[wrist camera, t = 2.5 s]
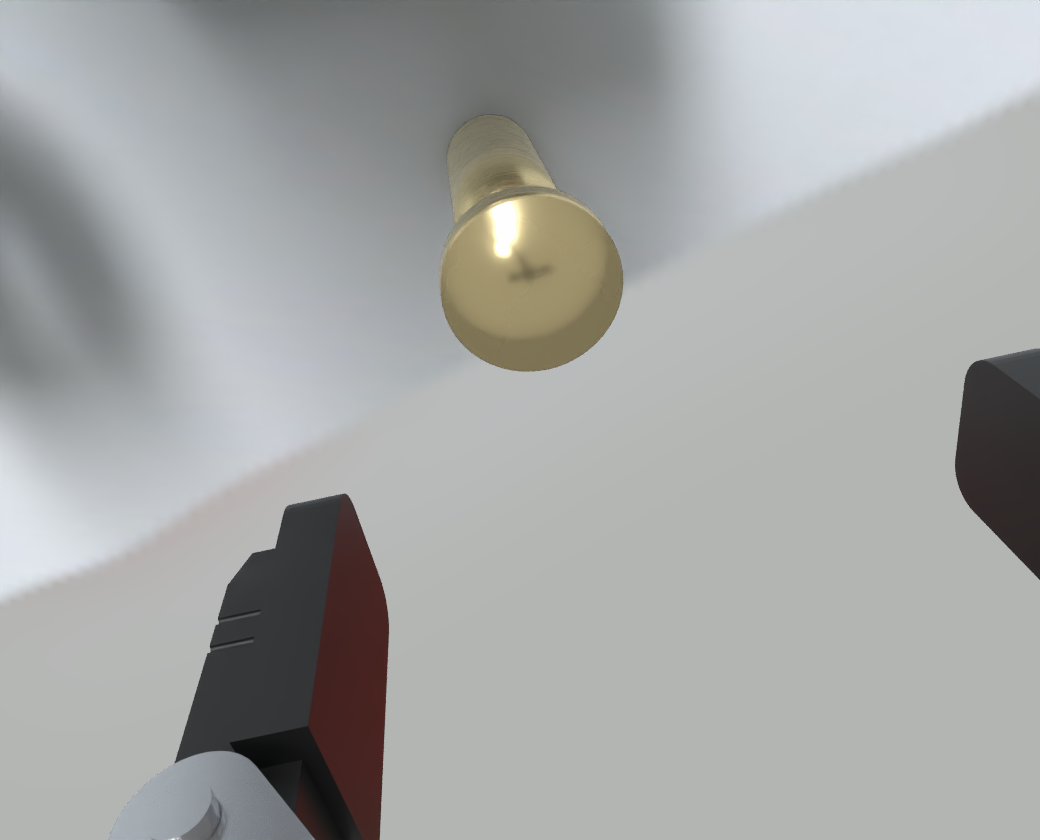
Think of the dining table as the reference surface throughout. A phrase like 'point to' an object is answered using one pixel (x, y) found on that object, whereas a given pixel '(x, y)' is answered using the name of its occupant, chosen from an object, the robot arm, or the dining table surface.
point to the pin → (522, 255)
